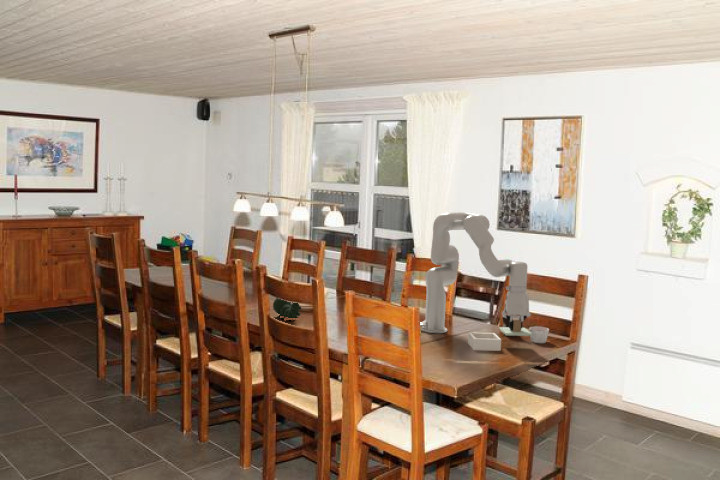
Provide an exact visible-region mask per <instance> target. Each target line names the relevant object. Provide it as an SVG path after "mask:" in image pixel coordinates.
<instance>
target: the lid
mask: <svg viewBox="0 0 720 480" xmlns="http://www.w3.org/2000/svg"><path fill="white" fill-rule="evenodd" d="M498 330H499V331H500V332H502V334H503V335H504V334H505V335H511V336H517V337H518V336H521V337H522V336H523V337H526V336H527V337H530V336H532V333H531V332H530V330H528V329H527V328H525V327H522V328H521V320H519V319H518V318H513V330H510V328H509V327H503V326H501V327H500V326H499V327H498Z"/></svg>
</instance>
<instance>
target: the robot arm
mask: <svg viewBox="0 0 720 480" xmlns="http://www.w3.org/2000/svg"><path fill="white" fill-rule="evenodd" d="M432 226H433V227H432V239H431V240H432V241H431V248H430V249H431V250H430V261H431V262H432V264H434V265H436V267H432V268H430V269H429V270H427V272H426V273H425V280H424V281H425V285H426V289H425V290H426V300H425V317H424V318H425V319H424V320H423V321H421V322H420V321H419V322H420V327H421V331H423V332H424V333H427V334H428V333H429V334H445V333H447V332H448V328H447V327H445V323H446V321H445V320H446V302H447V300H446V299H447V294H446V291H445V287H446V286H450V285H453V284H454V283H455V282H456V279H457V276H458V269H459V261H460V253H459V250H458V248H457V247H456V246H454V245H453V244H451V236H450V232H449V231H460V230H465V232H466V233H467V235H468V236H469V238H470V239H471V241H472V242H473V243H474V244H475V246H476V247H477V249H478V254H479V255H478V256H479V259H480V262H481V264H482V265H483V267H484V268H485V269H486V271H487V272H488V273H489V275H491V276H492V277H494V278H501V277H507V276H508V277H509V280H508V281H509V284H508V286H505V289H506V290H507V292H506V295H505V296H506V297H505V300H504V309H503V311H502V312H501V315H502V317H503V316H505V317H506V318H507V319H508V320H509V328H510V330H513V315H515V316H519V320H521V328H523V323H524V321H525V320H526V319H527V318H529V317H531V316H532V314H531V312H530V302H529V300H530V298H529V293H528V292H527V284H528V283H527V282H528V281H527V280H528V263H526V262H525V261H524V262H523V261H515V260H511V259H506V258H505V259H498V258H497V257H496V255H495V254H494V252H493V250H492V245H493V244H494V242H495V238H494V237H493V235H492V234H491V232H490V231H489V229H490V221H489V218H488V217H486V216H485V215H483V214H476V213H472V212H471V213H470V212H458V211H457V212H445V213H441V214H440V215H438V216H436V217H435V219H434V222H433V224H432ZM508 315H509V316H508Z"/></svg>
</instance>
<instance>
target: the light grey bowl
mask: <svg viewBox="0 0 720 480" xmlns="http://www.w3.org/2000/svg"><path fill="white" fill-rule="evenodd" d="M529 332H531V333H532V336H529V338H530V341H531V342H532V343H535V344H546V342H547V339H548V335H549V332H550V329H549V328H548V327H544V326H537V325H535V326H530V327H529Z"/></svg>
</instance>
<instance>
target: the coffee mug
mask: <svg viewBox="0 0 720 480" xmlns="http://www.w3.org/2000/svg"><path fill="white" fill-rule="evenodd" d="M507 315H508V314H507ZM508 316H509V315H508ZM513 318H518V319H519V315H513ZM502 327H509V320H508V319H507V318H506V317H505V316H503V315H502ZM503 336H504V337H509V338H515V337H518V336H511V335H505V334H504V333H503Z"/></svg>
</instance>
